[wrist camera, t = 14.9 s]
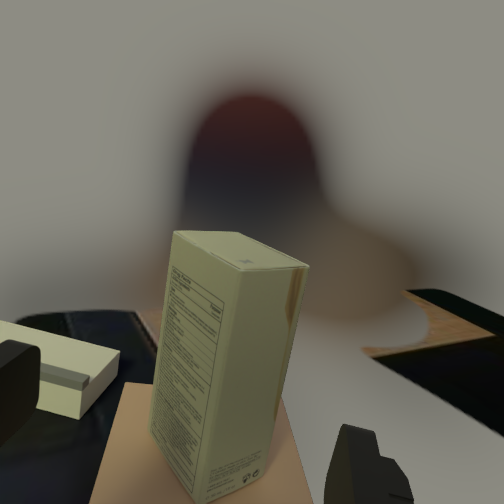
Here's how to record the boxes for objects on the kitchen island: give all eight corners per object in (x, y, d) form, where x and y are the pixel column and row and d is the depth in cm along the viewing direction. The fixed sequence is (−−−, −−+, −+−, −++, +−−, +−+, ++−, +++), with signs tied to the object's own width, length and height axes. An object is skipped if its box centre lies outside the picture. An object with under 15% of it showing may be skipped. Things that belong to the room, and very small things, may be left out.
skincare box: (265, 479, 22) (319, 267, 19) (196, 512, 19) (245, 272, 16) (204, 406, 27) (239, 228, 23) (142, 425, 24) (171, 226, 21)
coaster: (279, 406, 30) (281, 397, 29) (321, 559, 19) (326, 546, 19) (124, 392, 28) (125, 382, 27) (77, 552, 17) (78, 538, 17)
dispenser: (117, 375, 29) (120, 343, 29) (79, 419, 24) (82, 382, 24) (-11, 341, 30) (-10, 310, 29) (-71, 378, 25) (-72, 341, 25)
